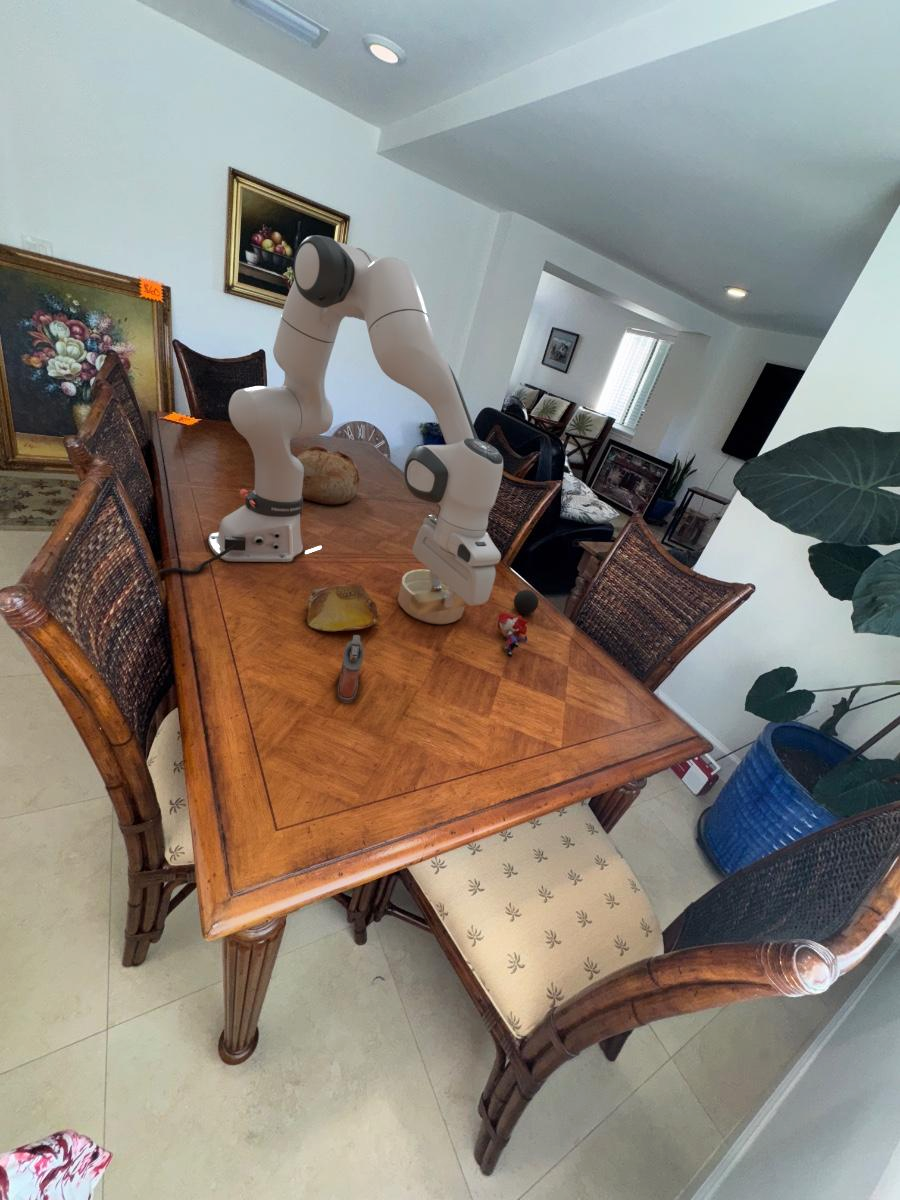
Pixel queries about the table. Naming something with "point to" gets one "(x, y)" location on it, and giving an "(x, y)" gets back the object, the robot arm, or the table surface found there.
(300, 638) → the table surface
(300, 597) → the table surface
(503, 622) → the figurine
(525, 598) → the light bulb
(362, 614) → the brown yellow irregular block
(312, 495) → the bread
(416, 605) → the stick
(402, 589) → the bowl
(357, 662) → the lighter
